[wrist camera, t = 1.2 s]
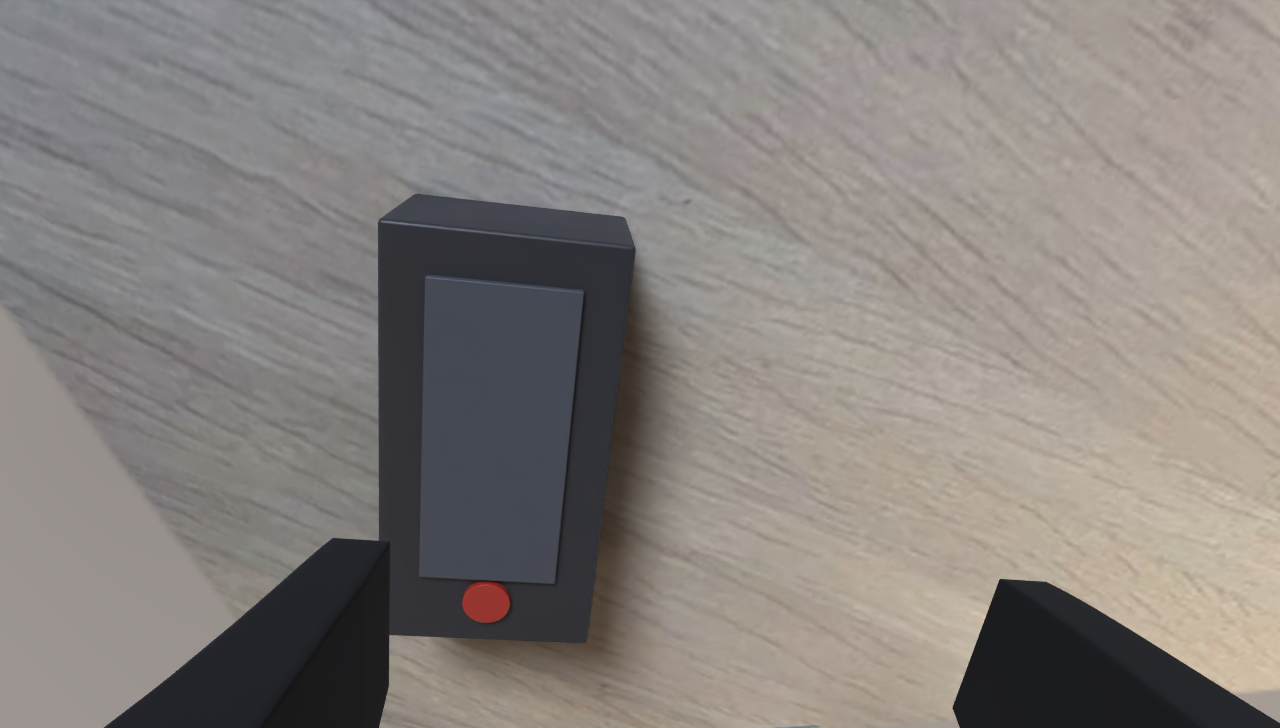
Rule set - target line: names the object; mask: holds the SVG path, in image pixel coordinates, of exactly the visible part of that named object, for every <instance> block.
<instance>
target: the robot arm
mask: <svg viewBox="0 0 1280 728" xmlns="http://www.w3.org/2000/svg"><path fill="white" fill-rule="evenodd" d="M389 610H390V542H388V541H372V540H355V539H339V538H332V539H331V540H330V541H329V542H327V543H326V544H325V545H323V546H322V547H321V548H320V549H319V550H317V551H316V552H315V553H314V554H313V555H312V556H310V557H309V558H308V559H307V560H306V561H305V562H304V563H302V564H301V565H300V566H299V567H298V568H297V569H296V570H295V571H293V572H292V573H291V574H290V575H289V576H288V577H287V578H286V579H284V580H283V581H282V582H281V583H280V584H279V585H278V586H276V587H275V588H274V589H273V590H272V591H271V592H270V593H268V594H267V595H266V596H265V597H264V598H263V599H262V600H260V601H259V602H258V603H257V604H256V605H255V606H254V607H252V608H251V609H250V610H249V611H248V612H247V613H245V614H244V615H243V616H242V617H241V618H240V619H239V620H237V621H236V622H235V623H234V624H233V625H232V626H230V627H229V628H228V629H227V630H225V631H224V632H223V633H222V634H221V635H219V636H218V637H217V638H216V639H215V640H213V641H212V642H211V643H210V644H209V645H208V646H206V647H205V648H204V649H203V650H201V651H200V652H199V653H198V654H197V655H195V656H194V657H193V658H192V659H191V660H189V661H188V662H187V663H186V664H185V665H183V666H182V667H181V668H180V669H179V670H177V671H176V672H175V673H174V674H172V675H171V676H170V677H169V678H168V679H166V680H165V681H164V682H163V683H161V684H160V685H159V686H158V687H156V688H155V689H154V690H152V691H151V692H150V693H149V694H147V695H146V696H145V697H144V698H142V699H141V700H139V701H138V702H137V703H135V704H134V705H133V706H132V707H130V708H129V709H128V710H126V711H125V712H124V713H122V714H121V715H120V716H118V717H117V718H116V719H115V720H113V721H112V722H111V723H109V724H108V725H107V726H106V727H104V728H379V724H380V720H381V716H382V712H383V708H384V704H385V700H386V695H387V691H388V687H389ZM953 710H954V713H955V716H956V718H957V721H958V724H959V726H960V728H1280V723H1279V722H1277V721H1275V720H1274V719H1272V718H1270V717H1269V716H1267V715H1266V714H1264V713H1262V712H1261V711H1259V710H1257V709H1256V708H1254V707H1253V706H1251V705H1249V704H1248V703H1246V702H1245V701H1243V700H1241V699H1240V698H1238V697H1237V696H1235V695H1233V694H1232V693H1230V692H1229V691H1227V690H1225V689H1224V688H1222V687H1221V686H1219V685H1217V684H1216V683H1214V682H1213V681H1211V680H1209V679H1208V678H1206V677H1205V676H1203V675H1201V674H1200V673H1198V672H1197V671H1195V670H1194V669H1192V668H1190V667H1189V666H1187V665H1186V664H1184V663H1182V662H1181V661H1179V660H1178V659H1176V658H1174V657H1173V656H1171V655H1170V654H1168V653H1166V652H1165V651H1163V650H1162V649H1160V648H1158V647H1157V646H1155V645H1154V644H1152V643H1151V642H1149V641H1147V640H1146V639H1144V638H1143V637H1141V636H1139V635H1138V634H1136V633H1135V632H1133V631H1131V630H1130V629H1128V628H1126V627H1125V626H1123V625H1122V624H1120V623H1118V622H1117V621H1115V620H1113V619H1112V618H1110V617H1108V616H1107V615H1105V614H1103V613H1102V612H1100V611H1098V610H1097V609H1095V608H1093V607H1092V606H1090V605H1088V604H1086V603H1085V602H1083V601H1081V600H1079V599H1078V598H1076V597H1074V596H1072V595H1070V594H1069V593H1067V592H1065V591H1063V590H1061V589H1059V588H1057V587H1055V586H1053V585H1051V584H1049V583H1047V582H1040V581H1023V580H1007V579H1000V580H999V583H998V585H997V588H996V591H995V593H994V596H993V599H992V602H991V604H990V607H989V610H988V613H987V615H986V618H985V621H984V623H983V626H982V629H981V632H980V634H979V637H978V640H977V642H976V645H975V648H974V651H973V653H972V656H971V659H970V662H969V664H968V667H967V670H966V672H965V675H964V678H963V681H962V683H961V686H960V689H959V691H958V694H957V697H956V700H955V702H954V705H953Z"/></svg>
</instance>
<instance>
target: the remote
mask: <svg viewBox="0 0 1280 728" xmlns="http://www.w3.org/2000/svg"><path fill="white" fill-rule="evenodd" d="M634 258H635V246H634V243H633V240H632V237H631V234H630V231H629V228H628V225H627V222H626V219H625V218H624V217H619V216H610V215H601V214H592V213H583V212H574V211H565V210H556V209H547V208H538V207H529V206H520V205H511V204H502V203H493V202H484V201H475V200H466V199H457V198H448V197H439V196H430V195H421V194H415V195H413V196H412V197H410V198H409V199H407V200H406V201H405V202H403V203H402V204H400V205H399V206H398V207H396V208H395V209H393V210H392V211H391V212H389V213H388V214H386V215H385V216H383V217H382V218H381V219H379V222H378V357H379V541H388V542H390V610H389V635H404V636H427V637H451V638H474V639H498V640H521V641H545V642H568V643H586V641H587V639H588V631H589V623H590V615H591V607H592V599H593V591H594V583H595V574H596V566H597V558H598V550H599V542H600V534H601V526H602V518H603V510H604V501H605V493H606V485H607V477H608V469H609V461H610V453H611V445H612V437H613V428H614V420H615V412H616V404H617V396H618V388H619V380H620V372H621V364H622V355H623V347H624V339H625V331H626V323H627V315H628V307H629V299H630V291H631V282H632V274H633V266H634Z"/></svg>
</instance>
